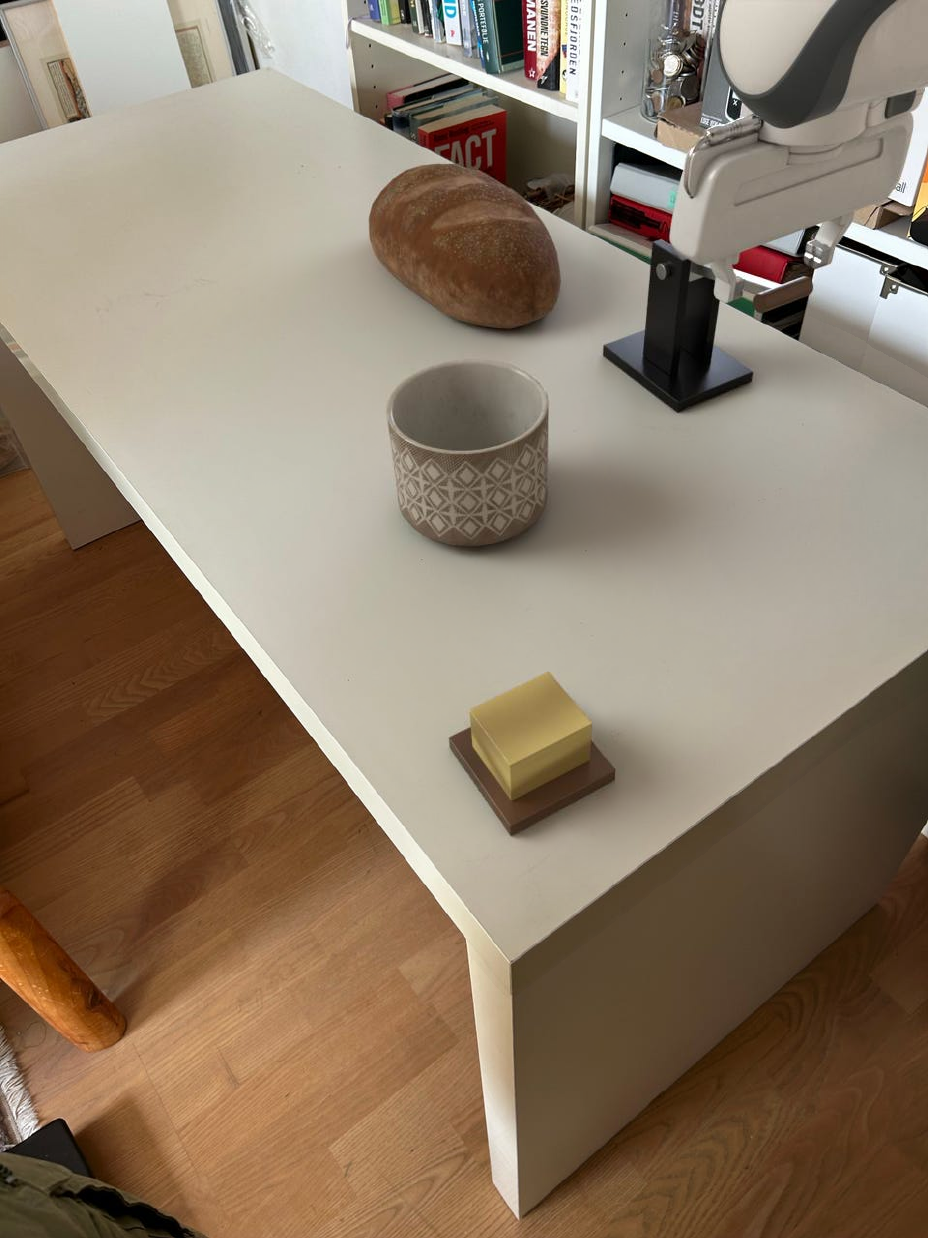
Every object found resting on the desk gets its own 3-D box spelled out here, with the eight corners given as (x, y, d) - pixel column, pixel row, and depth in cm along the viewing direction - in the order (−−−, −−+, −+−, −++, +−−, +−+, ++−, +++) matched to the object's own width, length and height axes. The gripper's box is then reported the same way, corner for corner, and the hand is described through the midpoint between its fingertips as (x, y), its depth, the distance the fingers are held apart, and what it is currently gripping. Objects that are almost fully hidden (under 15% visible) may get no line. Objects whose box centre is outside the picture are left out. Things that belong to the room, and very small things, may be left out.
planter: (440, 447, 88) (431, 346, 81) (569, 479, 84) (572, 376, 77) (373, 533, 81) (356, 431, 73) (512, 572, 77) (508, 469, 69)
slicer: (752, 382, 93) (775, 254, 83) (677, 413, 90) (692, 284, 81) (674, 328, 100) (687, 205, 91) (602, 355, 97) (608, 232, 88)
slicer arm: (812, 302, 79) (814, 273, 78) (765, 320, 78) (766, 291, 76) (699, 264, 89) (699, 237, 88) (656, 279, 88) (655, 253, 87)
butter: (615, 780, 63) (620, 732, 59) (510, 836, 61) (508, 791, 57) (548, 698, 68) (549, 650, 64) (449, 747, 66) (443, 700, 62)
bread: (472, 356, 99) (466, 249, 90) (342, 250, 116) (327, 153, 108) (594, 307, 104) (599, 202, 95) (452, 213, 121) (446, 117, 113)
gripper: (720, 148, 63) (696, 336, 74) (943, 78, 70) (893, 260, 80) (661, 120, 67) (645, 302, 77) (877, 55, 73) (837, 232, 84)
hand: (772, 280), depth 79 cm, fingers open, 8 cm apart
